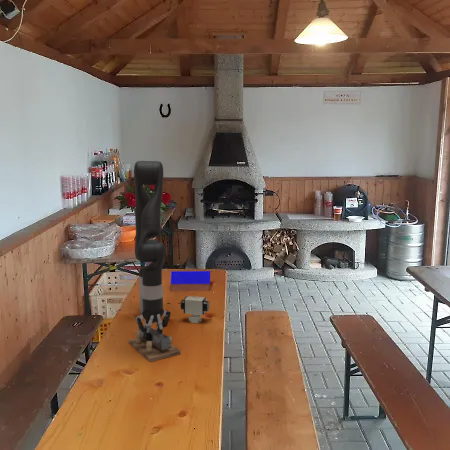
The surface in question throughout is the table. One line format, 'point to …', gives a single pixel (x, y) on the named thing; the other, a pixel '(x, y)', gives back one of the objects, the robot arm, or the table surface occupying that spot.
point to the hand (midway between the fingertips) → (153, 339)
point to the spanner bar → (157, 339)
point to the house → (190, 280)
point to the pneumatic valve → (195, 307)
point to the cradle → (152, 349)
